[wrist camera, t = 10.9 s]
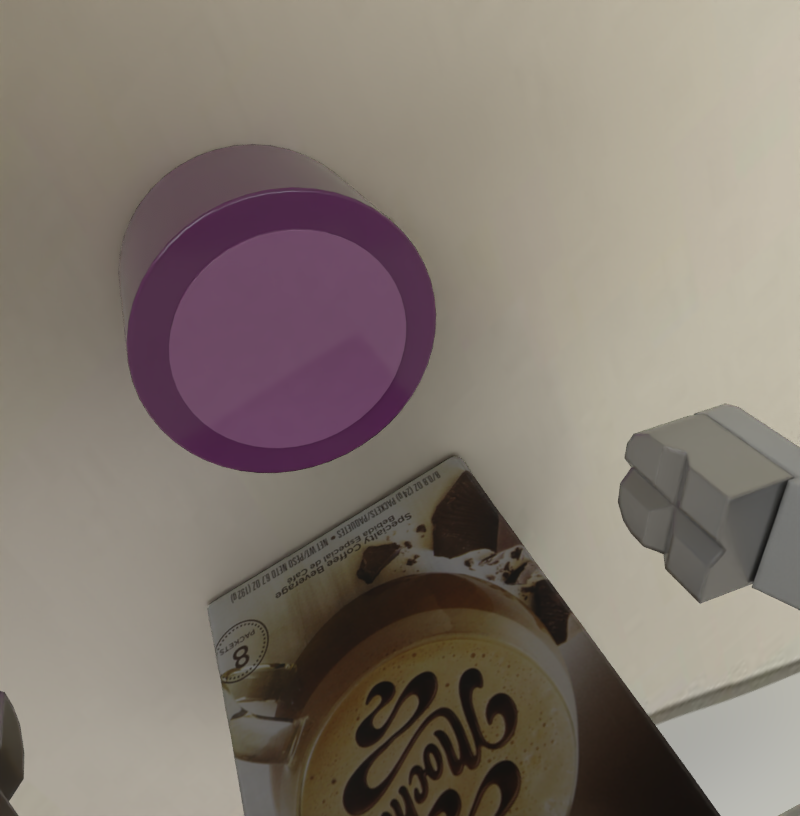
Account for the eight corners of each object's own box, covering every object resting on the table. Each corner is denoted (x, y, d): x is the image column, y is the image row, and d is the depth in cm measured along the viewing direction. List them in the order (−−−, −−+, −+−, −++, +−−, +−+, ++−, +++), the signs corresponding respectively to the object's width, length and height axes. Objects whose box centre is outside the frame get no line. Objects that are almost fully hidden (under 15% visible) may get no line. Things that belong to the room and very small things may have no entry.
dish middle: (81, 166, 14) (80, 221, 11) (369, 126, 15) (434, 164, 12) (157, 416, 17) (172, 508, 14) (386, 361, 19) (441, 434, 16)
